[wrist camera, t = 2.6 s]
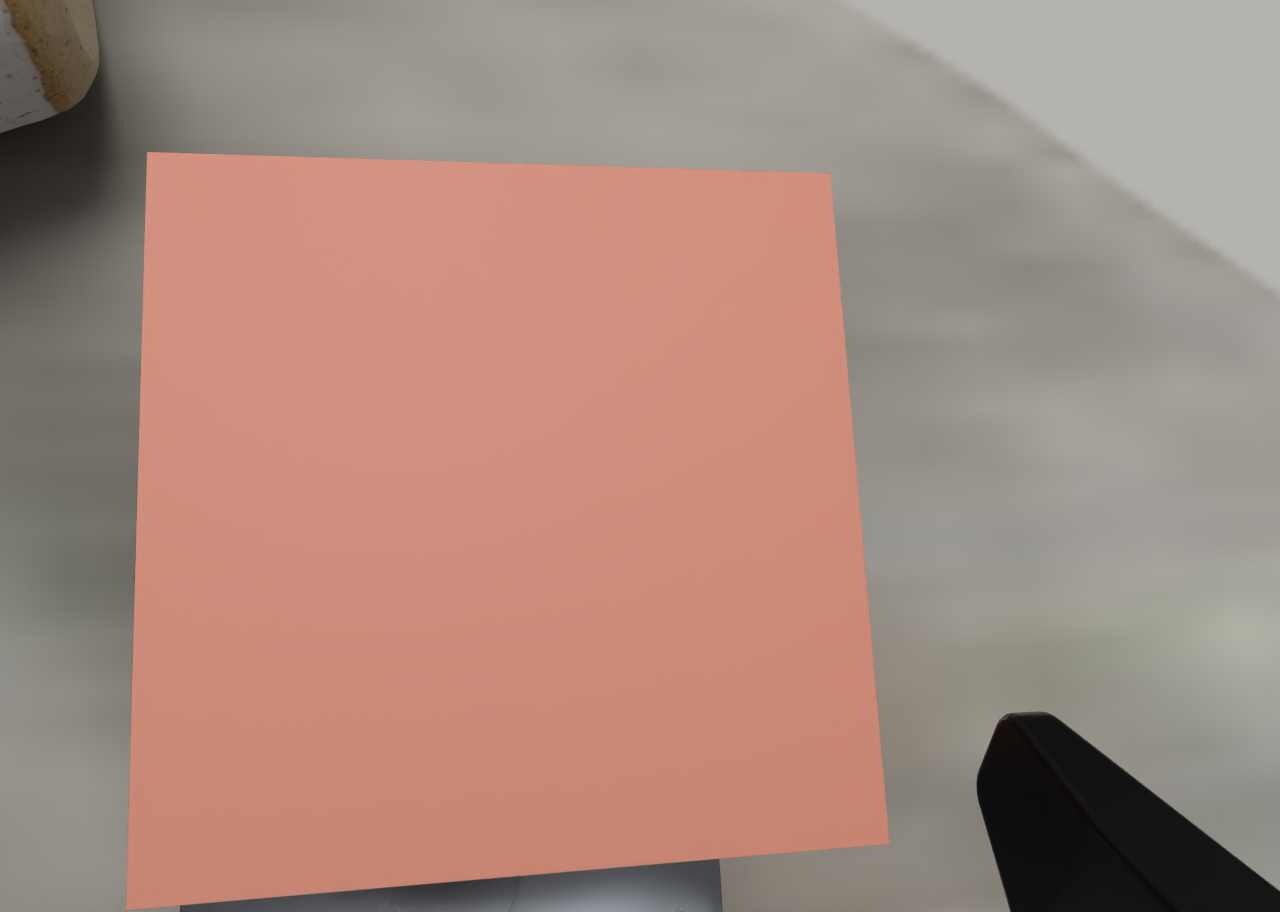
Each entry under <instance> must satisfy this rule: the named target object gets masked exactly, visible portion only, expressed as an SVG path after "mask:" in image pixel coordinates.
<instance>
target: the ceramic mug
mask: <svg viewBox="0 0 1280 912" xmlns="http://www.w3.org/2000/svg"><path fill="white" fill-rule="evenodd" d="M99 63H100V58H99V42H98V35H97V27H96V20H95V13H94V7H93V1H92V0H0V133H2V132H5V131H8V130H11V129H14V128H17V127H20V126H24V125H27V124H31V123H34V122H38V121H41V120H44V119H47V118H49V117H52V116H54V115H57V114H59V113H62V112H64V111H66V110H69V109H71V108H72V107H73V106H75V105H76V104H77V103H79V102H80V101H81V100H82V99H83V98H84V97H85V95H86V93H87V91H88V90H89V88H90V86H91V84H92V82H93V80H94V78H95V76H96V74H97V71H98V67H99Z"/></svg>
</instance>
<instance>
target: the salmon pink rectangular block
mask: <svg viewBox="0 0 1280 912" xmlns="http://www.w3.org/2000/svg"><path fill="white" fill-rule="evenodd" d="M882 844H889V833H888V822H887V810H886V799H885V788H884V776H883V765H882V754H881V742H880V731H879V720H878V709H877V697H876V686H875V675H874V663H873V652H872V641H871V629H870V618H869V607H868V595H867V584H866V573H865V562H864V550H863V539H862V528H861V516H860V505H859V494H858V482H857V471H856V460H855V448H854V437H853V426H852V414H851V403H850V392H849V381H848V369H847V358H846V347H845V335H844V324H843V313H842V301H841V290H840V279H839V267H838V256H837V245H836V234H835V222H834V211H833V200H832V188H831V177H830V174H829V173H797V172H765V171H733V170H701V169H670V168H638V167H606V166H574V165H542V164H510V163H478V162H447V161H415V160H383V159H351V158H319V157H287V156H255V155H224V154H192V153H160V152H147V176H146V212H145V248H144V284H143V319H142V355H141V391H140V427H139V463H138V499H137V534H136V570H135V606H134V642H133V678H132V714H131V749H130V785H129V821H128V857H127V893H126V910H132V909H143V908H155V907H166V906H178V905H189V904H201V903H212V902H224V901H236V900H247V899H259V898H270V897H282V896H293V895H305V894H316V893H328V892H339V891H351V890H362V889H374V888H386V887H397V886H409V885H420V884H432V883H443V882H455V881H466V880H478V879H489V878H501V877H513V876H524V875H536V874H547V873H559V872H570V871H582V870H593V869H605V868H616V867H628V866H639V865H651V864H663V863H674V862H686V861H697V860H709V859H720V858H732V857H743V856H755V855H766V854H778V853H790V852H801V851H813V850H824V849H836V848H847V847H859V846H870V845H882Z"/></svg>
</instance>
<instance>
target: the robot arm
mask: <svg viewBox="0 0 1280 912" xmlns="http://www.w3.org/2000/svg"><path fill="white" fill-rule="evenodd" d="M977 796H978V801H979V805H980V808H981V812H982V815H983V819H984V822H985V826H986V829H987V832H988V836H989V839H990V843H991V846H992V850H993V853H994V857H995V860H996V864H997V867H998V870H999V874H1000V877H1001V881H1002V884H1003V888H1004V891H1005V895H1006V898H1007V902H1008V905H1009V909H1010V912H1280V891H1279V890H1278V889H1277V888H1275V887H1274V886H1273V885H1271V884H1270V883H1269V882H1268V881H1266V880H1265V879H1264V878H1262V877H1261V876H1260V875H1259V874H1257V873H1256V872H1255V871H1253V870H1252V869H1251V868H1250V867H1248V866H1247V865H1246V864H1244V863H1243V862H1242V861H1241V860H1239V859H1238V858H1237V857H1235V856H1234V855H1233V854H1232V853H1230V852H1229V851H1228V850H1226V849H1225V848H1224V847H1223V846H1221V845H1220V844H1219V843H1217V842H1216V841H1215V840H1214V839H1212V838H1211V837H1210V836H1208V835H1207V834H1206V833H1205V832H1203V831H1202V830H1201V829H1199V828H1198V827H1197V826H1196V825H1194V824H1193V823H1192V822H1190V821H1189V820H1188V819H1187V818H1185V817H1184V816H1183V815H1181V814H1180V813H1179V812H1178V811H1176V810H1175V809H1174V808H1172V807H1171V806H1170V805H1169V804H1167V803H1166V802H1165V801H1163V800H1162V799H1161V798H1160V797H1158V796H1157V795H1156V794H1154V793H1153V792H1152V791H1151V790H1149V789H1148V788H1147V787H1145V786H1144V785H1143V784H1142V783H1140V782H1139V781H1138V780H1136V779H1135V778H1134V777H1133V776H1131V775H1130V774H1129V773H1127V772H1126V771H1125V770H1124V769H1122V768H1121V767H1120V766H1118V765H1117V764H1116V763H1115V762H1113V761H1112V760H1111V759H1109V758H1108V757H1107V756H1106V755H1104V754H1103V753H1102V752H1100V751H1099V750H1098V749H1097V748H1095V747H1094V746H1093V745H1091V744H1090V743H1089V742H1088V741H1086V740H1085V739H1084V738H1082V737H1081V736H1080V735H1079V734H1077V733H1076V732H1075V731H1073V730H1072V729H1071V728H1070V727H1068V726H1067V725H1066V724H1064V723H1063V722H1062V721H1061V720H1059V719H1058V718H1056V717H1055V716H1053V715H1051V714H1049V713H1046V712H1022V713H1010V714H1006V715H1005V716H1003V717H1002V718H1001V719H1000V720H999V722H998V724H997V726H996V728H995V731H994V733H993V736H992V738H991V741H990V743H989V746H988V749H987V751H986V754H985V756H984V759H983V761H982V764H981V766H980V769H979V772H978V776H977Z"/></svg>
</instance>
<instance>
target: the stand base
mask: <svg viewBox="0 0 1280 912" xmlns="http://www.w3.org/2000/svg"><path fill="white" fill-rule="evenodd" d="M180 912H722V897H721V881H720V865H719V859H709V860H697V861H686V862H674V863H663V864H651V865H639V866H628V867H616V868H605V869H593V870H582V871H570V872H559V873H547V874H536V875H524V876H513V877H501V878H489V879H478V880H466V881H455V882H443V883H432V884H420V885H409V886H397V887H386V888H374V889H362V890H351V891H339V892H328V893H316V894H305V895H293V896H282V897H270V898H259V899H247V900H236V901H224V902H212V903H201V904H189V905H180Z"/></svg>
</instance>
